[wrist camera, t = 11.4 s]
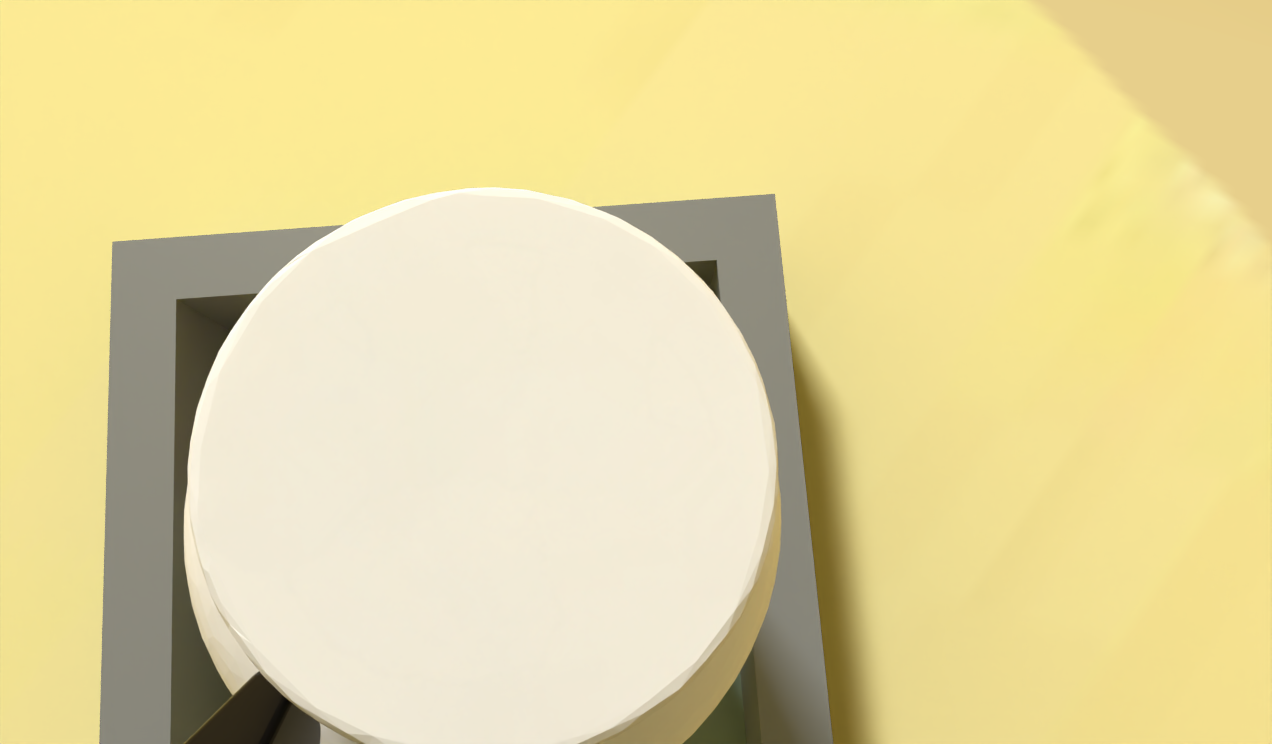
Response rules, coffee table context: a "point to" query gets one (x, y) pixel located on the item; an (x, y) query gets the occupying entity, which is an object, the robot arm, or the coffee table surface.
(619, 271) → the supplement bottle
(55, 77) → the coffee table surface
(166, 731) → the grey tray
